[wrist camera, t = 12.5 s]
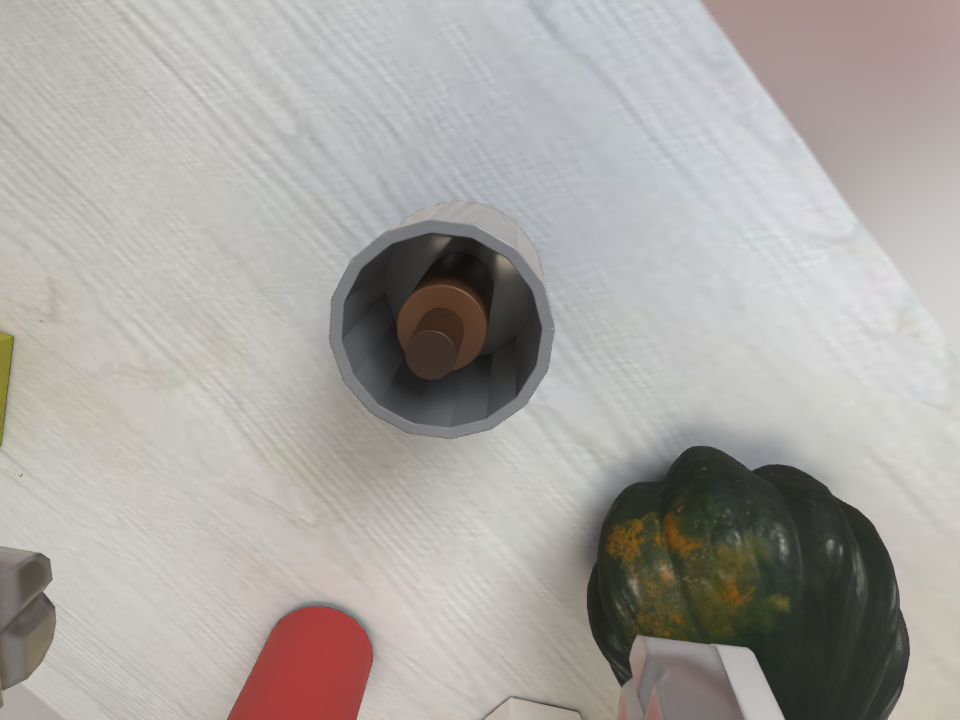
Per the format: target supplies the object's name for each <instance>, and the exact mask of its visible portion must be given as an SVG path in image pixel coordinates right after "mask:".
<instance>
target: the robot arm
mask: <svg viewBox="0 0 960 720" xmlns="http://www.w3.org/2000/svg"><path fill="white" fill-rule="evenodd" d="M52 580H53V579H52V572H51V564H50V559H49V558H47V557H46V556H44V555H43V554H41V553H38V552H32V551H25V550H19V549H13V548H7V547H1V546H0V708H1V707H2V706H3V691H4V690H6V689H7V688H10V687H12V686H14V685H16V684H18V683H20V682H22V681H24V680H26V679H28V677H29V676H30V675H31V674H32V673H33V672H34V671H35V669H36V668H37V667H38V666H39V665H40V664H41V662H42V661H43V659H44V657H45V655H46V653H47V651H48V649H49V647H50V645H51V643H52V641H53V636H54V631H55V625H56V614H55V606H54V605H53V604H52V603H51V601H50V600H49V599H48V598H47V596H46V595H45V594H44V593H43V591H44V590H45V588H46V587H47V586H48V585H49V583H50V582H51V581H52ZM629 661H630V665H631V670H632V675H633V677H632V678H631V679H630V680H629V681H627V682H626V683H625V684H624V685H623V687H622V692H621V697H620V702H619V709H618V720H785V718H784V716H783V714H782V712H781V710H780V708H779V706H778V703H777V701H776V699H775V697H774V695H773V693H772V691H771V689H770V687H769V684H768V682H767V680H766V678H765V676H764V674H763V672H762V670H761V668H760V666H759V663H758V661H757V659H756V657H755V655H754V653H753V652H752V651H751V650H750V649H748V648H747V647H738V646H729V645H720V644H710V645H708V644H702V643H694V642H687V641H679V640H672V639H664V638H656V637H649V636H641V635H637V637H636V639H635V640H634V642H633V645H632V649H631V653H630V657H629Z"/></svg>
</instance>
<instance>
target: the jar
mask: <svg viewBox="0 0 960 720" xmlns="http://www.w3.org/2000/svg"><path fill="white" fill-rule="evenodd" d="M484 720H582V719H581V716H580V714H579V713H578V712H576V711H571V710H567V709H562V708H557V707H553V706H548V705H544V704H539V703H535V702H530V701H526V700H521V699H516V698H509V699H508V700H507V701H505V702H504V703H503V704H502V705H501V706H499V707H498V708H497V709H496V710H495V711H493V712H492V713H491V714H490V715H489V716H487V717H486V718H485V719H484Z"/></svg>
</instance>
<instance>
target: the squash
mask: <svg viewBox="0 0 960 720" xmlns="http://www.w3.org/2000/svg"><path fill="white" fill-rule="evenodd" d="M587 610H588V617H589V623H590V627H591V630H592V634H593V637H594V639H595V641H596V643H597V645H598V647H599V649H600V650H601V652H602V654H603V655H604V657H605V658H606V659H607V661H608V662H609V663H610V666H611V669H612V671H613V673H614V674H615V676H616V678H617V680H618V682H619V684H620V686H621V687H623V685H624V684H625V683H626V682H627V681H629V680H630V679H631V678H632V677H633V675H632V670H631V665H630V661H629V657H630V653H631V649H632V645H633V642H634V640H635V639H636V637H637V635H641V636H649V637H656V638H664V639H672V640H679V641H687V642H694V643H702V644H708V645H710V644H720V645H729V646H738V647H747V648H748V649H750V650H751V651H752V652H753V653H754V655H755V657H756V659H757V661H758V663H759V666H760V668H761V670H762V672H763V674H764V676H765V678H766V680H767V682H768V684H769V687H770V689H771V691H772V693H773V695H774V697H775V699H776V701H777V703H778V706H779V708H780V710H781V712H782V714H783V716H784V718H785V720H887V719H888V717H889V715H890V714H891V712H892V711H893V709H894V707H895V705H896V703H897V701H898V699H899V697H900V695H901V692H902V689H903V686H904V679H905V675H906V671H907V667H908V661H909V656H910V646H909V637H908V632H907V628H906V624H905V621H904V618H903V615H902V612H901V610H900V597H899V590H898V585H897V581H896V576H895V572H894V567H893V564H892V561H891V558H890V556H889V553H888V551H887V549H886V547H885V545H884V543H883V542H882V540H881V538H880V536H879V534H878V532H877V530H876V528H875V527H874V525H873V524H872V523H871V521H870V520H869V519H868V518H866V517H865V516H864V515H863V514H862V513H861V512H860V511H859V510H858V509H856V508H854V507H852V506H851V505H849V504H847V503H845V502H843V501H841V500H840V499H838V498H837V497H835V496H833V495H832V494H831V492H830V491H829V489H828V488H827V487H826V486H825V485H824V484H822V483H821V482H819V481H818V480H816V479H815V478H813V477H812V476H810V475H808V474H807V473H805V472H803V471H801V470H799V469H796V468H794V467H791V466H786V465H779V464H776V465H766V466H762V467H760V468H757V469H755V470H753V471H750V470H749V469H748V468H746V467H745V466H744V465H742V464H741V463H740V462H738V461H737V460H735V459H734V458H732V457H731V456H729V455H727V454H726V453H724V452H723V451H720V450H718V449H715V448H713V447H708V446H695V447H691V448H689V449H687V450H686V451H684V452H683V453H682V454H681V455H680V456H679V457H678V458H677V460H676V461H675V462H674V463H673V464H672V466H671V468H670V470H669V472H668V474H667V476H666V479H665V481H664V484H663V485H662V484H658V483H652V482H639V483H635V484H632V485H630V486H628V487H627V488H625V489H624V490H623V491H622V492H621V493H620V494H619V496H618V497H617V498H616V500H615V501H614V503H613V505H612V507H611V509H610V511H609V513H608V514H607V516H606V518H605V521H604V523H603V526H602V530H601V536H600V541H599V547H598V558H597V562H596V564H595V566H594V568H593V570H592V573H591V576H590V580H589V583H588V589H587Z"/></svg>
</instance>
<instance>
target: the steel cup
mask: <svg viewBox="0 0 960 720" xmlns="http://www.w3.org/2000/svg"><path fill="white" fill-rule="evenodd" d="M457 252H459V253H466V254H470V255H472V256H474V257H476V258H478V259H479V260H481V261H482V262H483V263H484V264H485V265H486V267H487V268H488V270H489V271H490V273H491V276H492V279H493V284H494V292H493V298H492V305H491V311H490V318H489V324H488V330H487V336H486V341H485V344H484V347H483V349H482V351H481V352H480V354H479V355H478V356H477V357H476V359H475V360H474V361H472V362H471V363H470V364H468V365H467V366H465V367H463V368H461V369H459V370H456V371H451V372H450V373H449V374H448V375H446V376H445V377H442V378H440V379H435V380H428V379H424V378H421V377H419V376H417V375H416V374H415V373H413V372H412V370H411V369H410V368H409V366H408V364H407V362H406V358H405V352H404V351H403V349H402V347H401V345H400V343H399V340H398V336H397V329H396V327H397V317H398V314H399V311H400V309H401V307H402V305H403V304H404V302H405V301H406V299H407V298H408V296H409V295H410V294H411V292H412V291H413V289H414V288H415V287H416V285H417V284H418V283H419V281H420V280H421V278H422V277H423V276H424V274H425V273H426V271H427V270H428V269H429V267H430V266H431V265H432V264H433V263H434V262H435V261H436V260H437V259H438V258H440V257H442V256H444V255H446V254H450V253H457ZM554 327H555V325H554V321H553V316H552V312H551V307H550V302H549V298H548V293H547V288H546V284H545V279H544V275H543V271H542V267H541V263H540V259H539V255H538V251H537V250H536V248H535V246H534V245H533V243H532V242H531V240H530V239H529V237H528V236H527V234H526V233H525V232H524V231H523V230H522V228H521V227H520V226H519V225H518V224H517V223H516V222H515V221H513V220H512V219H511V218H510V217H508V216H507V215H505V214H504V213H502V212H500V211H498V210H496V209H494V208H492V207H490V206H487V205H484V204H480V203H475V202H470V201H448V202H444V203H439V204H435V205H433V206H430V207H427V208H424V209H420V210H418V211H417V212H415V213H414V214H412V215H410V216H409V217H407V218H406V219H404V220H403V221H401V222H400V223H398V224H397V225H395V226H393V227H392V228H390V229H389V230H387V231H386V232H384V233H383V234H382V235H381V236H379V237H378V238H377V239H376V240H374V241H373V242H372V243H371V244H370V245H368V246H367V247H366V248H365V249H363V250H362V251H361V252H360V253H359V254H357V255H356V256H355V257H354V258H352V260H351V261H350V263H349V265H348V267H347V269H346V271H345V273H344V275H343V277H342V279H341V281H340V282H339V284H338V286H337V288H336V290H335V292H334V294H333V296H332V299H331V316H330V333H329V341H330V345H331V348H332V351H333V353H334V356H335V359H336V362H337V365H338V368H339V370H340V373H341V376H342V379H343V381H344V383H345V384H346V385H347V386H348V387H349V388H350V390H351V391H352V392H353V393H354V394H355V395H356V397H357V398H358V399H359V400H360V401H361V402H362V403H363V405H364V406H365V407H366V408H367V409H368V410H369V411H370V413H372V414H373V415H375V416H377V417H379V418H381V419H383V420H384V421H386V422H388V423H390V424H392V425H394V426H396V427H398V428H399V429H401V430H403V431H405V432H407V433H410V434H417V435H424V436H431V437H439V438H446V439H450V438H451V439H453V438H457V437H461V436H466V435H470V434H474V433H478V432H482V431H487V430H490V429H493V428H494V427H496V426H497V425H498V424H500V423H501V422H503V421H504V420H506V419H507V418H508V417H510V416H511V415H513V414H514V413H516V412H517V411H518V410H520V409H521V408H523V407H524V406H525V405H526V404H527V403H528V401H529V399H530V398H531V396H532V395H533V393H534V392H535V390H536V388H537V387H538V385H539V384H540V382H541V381H542V379H543V377H544V376H545V374H546V373H547V370H548V368H549V362H550V356H551V349H552V343H553V337H554V331H555V328H554Z"/></svg>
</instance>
